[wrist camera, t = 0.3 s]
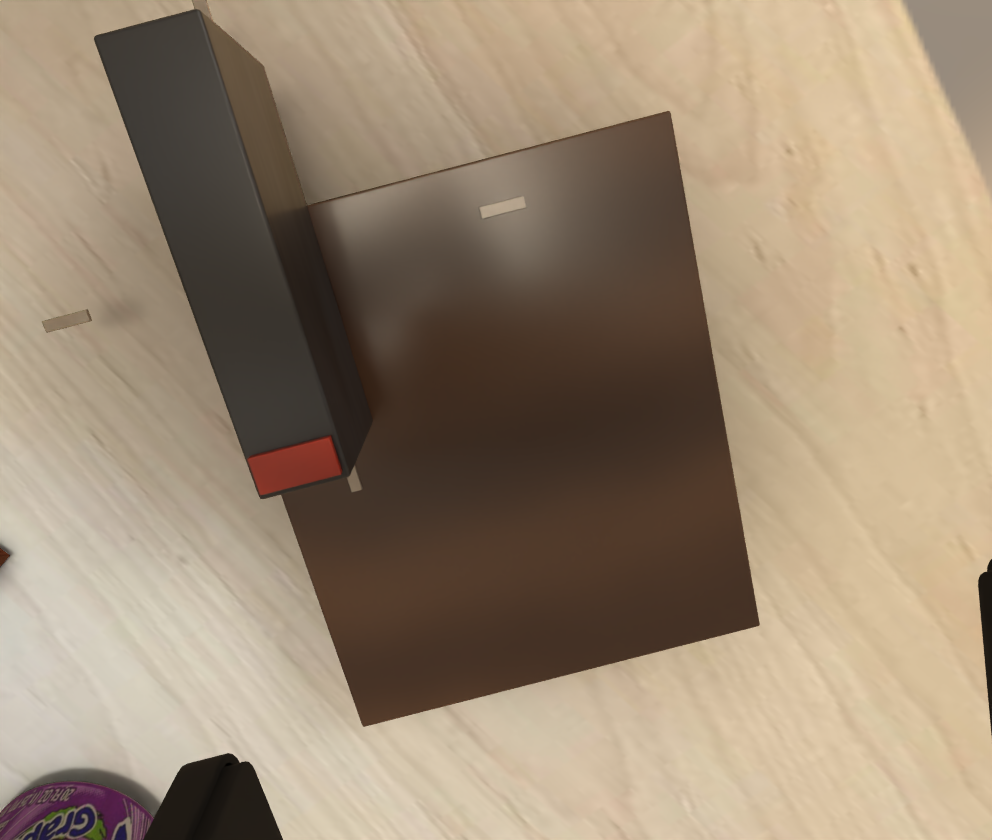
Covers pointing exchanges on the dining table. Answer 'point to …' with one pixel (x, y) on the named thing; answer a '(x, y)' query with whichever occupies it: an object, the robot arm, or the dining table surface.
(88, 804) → the beverage can
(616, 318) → the rack base
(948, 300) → the dining table surface
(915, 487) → the dining table surface
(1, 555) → the book
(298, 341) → the dark grey rectangular block
